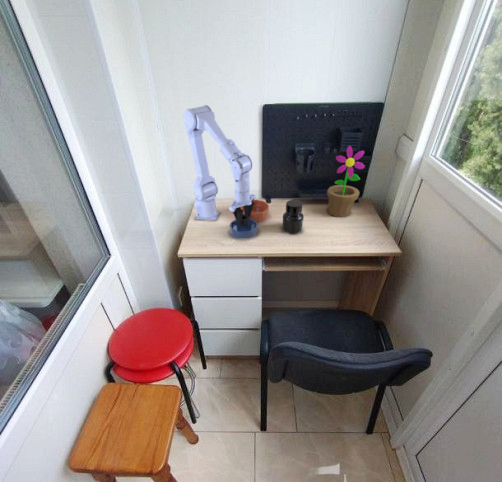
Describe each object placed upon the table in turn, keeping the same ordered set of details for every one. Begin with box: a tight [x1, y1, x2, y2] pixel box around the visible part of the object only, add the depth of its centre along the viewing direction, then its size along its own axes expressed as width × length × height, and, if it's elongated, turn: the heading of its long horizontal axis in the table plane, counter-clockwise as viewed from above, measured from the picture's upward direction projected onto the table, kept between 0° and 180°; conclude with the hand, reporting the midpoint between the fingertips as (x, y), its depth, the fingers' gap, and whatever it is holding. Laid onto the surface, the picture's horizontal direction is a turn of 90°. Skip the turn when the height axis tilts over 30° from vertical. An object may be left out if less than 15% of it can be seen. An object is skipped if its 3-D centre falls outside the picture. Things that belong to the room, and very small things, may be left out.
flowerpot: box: [326, 145, 366, 218], centre depth 127 cm, size 14×14×30 cm
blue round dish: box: [229, 219, 259, 239], centre depth 124 cm, size 12×12×4 cm
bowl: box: [240, 199, 270, 224], centre depth 134 cm, size 15×15×5 cm
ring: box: [238, 214, 250, 226], centre depth 121 cm, size 5×5×3 cm
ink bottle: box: [281, 199, 305, 234], centre depth 122 cm, size 10×9×12 cm
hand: (243, 221), depth 121 cm, fingers closed on ring, 5 cm apart
